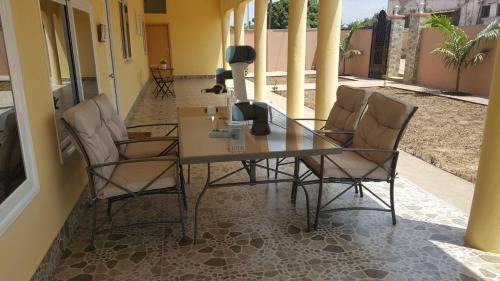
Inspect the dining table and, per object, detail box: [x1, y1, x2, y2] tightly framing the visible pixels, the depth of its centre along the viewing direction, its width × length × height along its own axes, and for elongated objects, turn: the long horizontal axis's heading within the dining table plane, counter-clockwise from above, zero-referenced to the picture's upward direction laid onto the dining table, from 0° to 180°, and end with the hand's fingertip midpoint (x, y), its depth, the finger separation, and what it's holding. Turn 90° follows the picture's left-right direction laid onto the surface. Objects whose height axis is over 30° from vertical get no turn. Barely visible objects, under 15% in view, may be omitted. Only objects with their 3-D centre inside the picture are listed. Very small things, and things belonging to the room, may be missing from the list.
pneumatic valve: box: [203, 104, 219, 120], centre depth 328 cm, size 6×12×12 cm, turn 101°
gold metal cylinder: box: [211, 115, 220, 132], centre depth 268 cm, size 4×4×14 cm
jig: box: [208, 128, 233, 138], centre depth 268 cm, size 15×10×4 cm, turn 82°
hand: (211, 92), depth 271 cm, fingers open, 13 cm apart
